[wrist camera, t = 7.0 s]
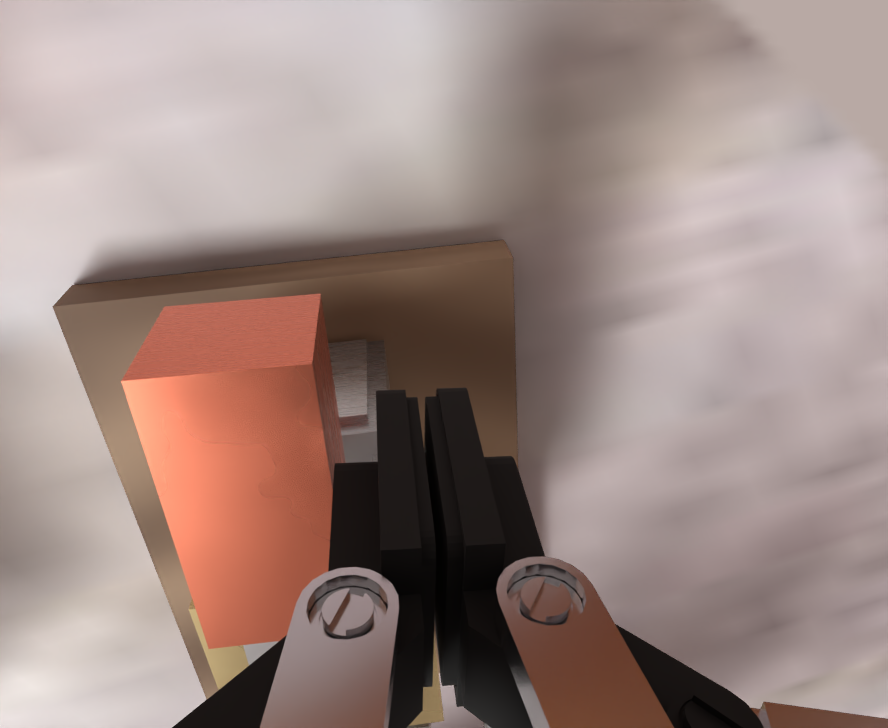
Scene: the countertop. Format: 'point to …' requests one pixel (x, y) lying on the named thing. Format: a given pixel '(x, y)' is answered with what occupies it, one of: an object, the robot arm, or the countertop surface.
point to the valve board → (347, 319)
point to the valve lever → (241, 455)
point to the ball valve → (355, 388)
